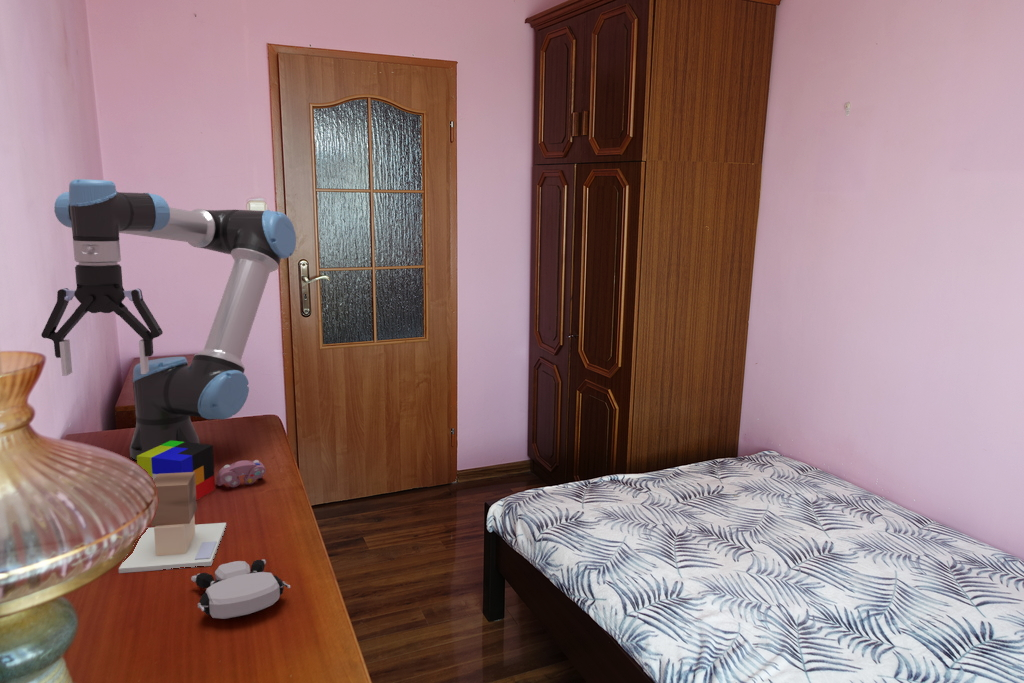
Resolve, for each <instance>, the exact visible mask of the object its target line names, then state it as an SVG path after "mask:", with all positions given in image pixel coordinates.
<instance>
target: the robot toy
mask: <svg viewBox="0 0 1024 683" xmlns="http://www.w3.org/2000/svg"><path fill="white" fill-rule="evenodd" d="M266 563H267V561H266V559H256V560H253V562H252V564H251V565H250V564H249V563H247V562H246V561H245V560H244V561H243V560H237V561H235V560H233V561H231V562H230V561H229V562H228V563H222V564H220V565H219V566H218V567H217V569H216V570H215V571H214V577H213V574H210V573H207V572H200V573H197V574H195V575H192V576H191V577H190V580H191V581H192V582H193V583H196V586H197V587H199V588H202V589H206V590H205V592H204V593H203V594H202V595H201V597H200V599H199V602H198V603H197V609H200V610H201V612H204V613H205V614H206V615H207V616H208V615H210V616H211V617H212V618H213V619H222V620H223V619H224V620H226V619H227V620H228V619H230V618H237V617H241V616H247V615H250V614H252V613H256V612H259V611H262V610H264V609H266V608H269V607H271V606H273V605H274V604H275V603H276V602H277V601H279V599H280V596H282V594H284V589H285V588H284V587H286V588H287V589H291V585H290V584H287V583H286V581H283V580H282V579H281V578H279V577H278V576H277V575H273V573H272V572H267V571H265V566H266Z"/></svg>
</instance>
